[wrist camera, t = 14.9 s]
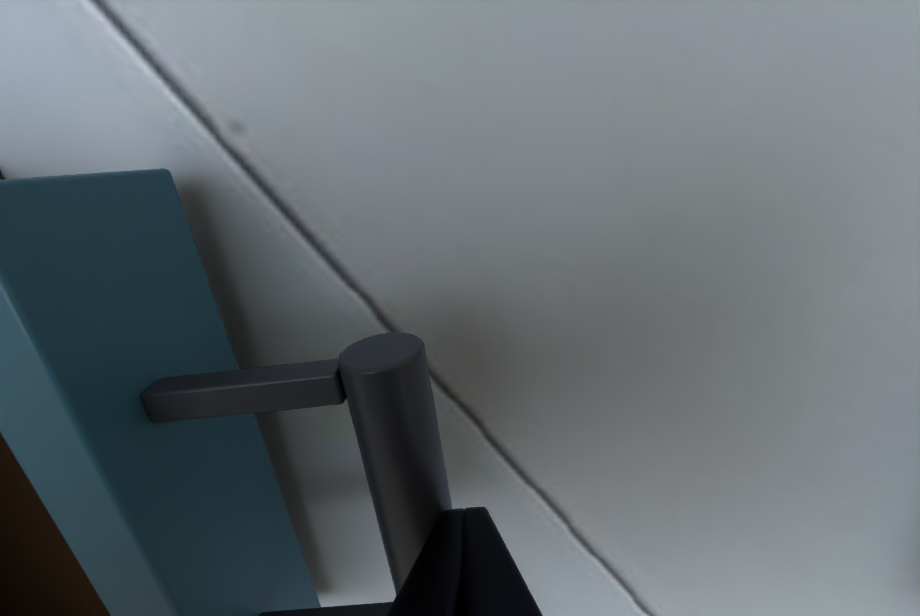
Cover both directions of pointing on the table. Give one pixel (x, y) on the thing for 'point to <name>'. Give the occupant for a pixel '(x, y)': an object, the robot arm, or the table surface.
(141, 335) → the drawer
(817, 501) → the table surface
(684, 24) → the table surface
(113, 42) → the table surface
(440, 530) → the robot arm
